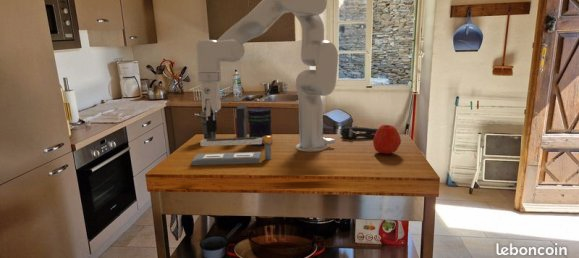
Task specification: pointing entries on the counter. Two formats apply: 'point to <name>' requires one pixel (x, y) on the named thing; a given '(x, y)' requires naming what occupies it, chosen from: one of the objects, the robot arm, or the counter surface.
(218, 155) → the label board
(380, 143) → the apple
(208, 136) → the beverage cup
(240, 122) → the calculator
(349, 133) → the can opener
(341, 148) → the counter surface
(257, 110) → the blue oil drum
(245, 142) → the swing arm
